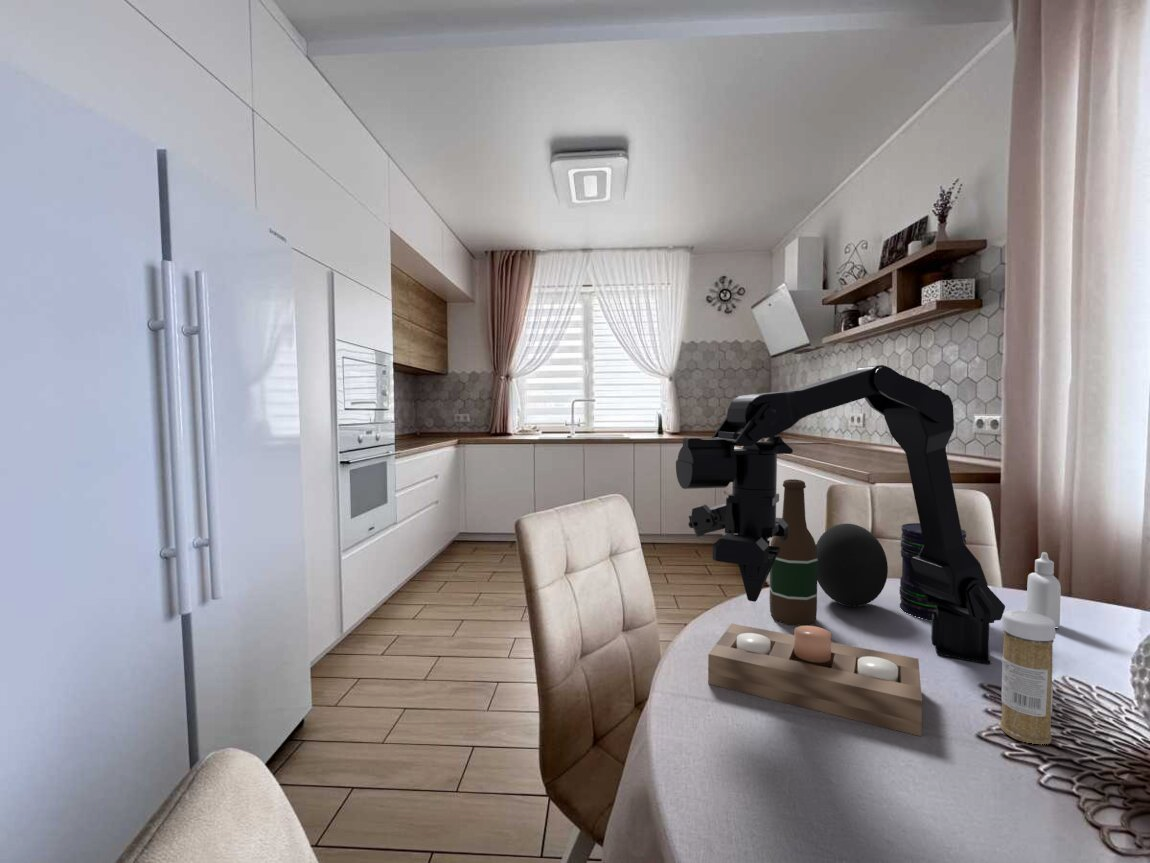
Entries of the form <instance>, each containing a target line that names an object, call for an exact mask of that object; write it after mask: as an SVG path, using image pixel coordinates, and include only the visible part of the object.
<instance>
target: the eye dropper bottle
mask: <svg viewBox="0 0 1150 863" xmlns="http://www.w3.org/2000/svg"><path fill="white" fill-rule="evenodd" d="M1040 555H1041V556H1040V558H1037V559H1035V560H1034V572H1030V573H1029V574H1028V575H1027V585H1026V588H1027V590H1026V611H1027V612H1032V613H1037V614H1040V615H1043V616H1046V617H1048V618H1050V619H1052V620H1053V621H1054V622H1055V627H1059V628H1060V626H1061V625H1060V624H1061V599H1062V598H1061V596H1062V595H1061V593H1062V592H1061V591H1062V590H1061V589H1062V588H1061V582H1060V581H1059V579H1058V578H1057V577H1055V576H1054V573H1055V562H1054V561H1053V560H1051V559H1050V558H1049V555H1048V553H1047V552H1046V551H1043V552H1041V554H1040Z"/></svg>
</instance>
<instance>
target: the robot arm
mask: <svg viewBox="0 0 1150 863" xmlns="http://www.w3.org/2000/svg"><path fill="white" fill-rule="evenodd" d="M863 399H864V400H865V401H866V403H867V404H868V406H869V407H870V408H871V409H873V410H875V411H876V412H877V413H879V414H881V415H882V416H883V418H884V420H885V423H886V425H887V428H888V431H889V433H890V435H891V437H892V438H893V439H894V441H896V443H897V444H898V445H899V447H900V448H901V449H902V450H903V451H904V453H905V457H906V461H907V466H908V471H909V475H910V481H911V485H912V491H913V497H914V501H915V505H916V510H917V511H916V512H917V514H918V521H919V523H920V526H921V531H922V536H923V541H924V546H923V548H922V550H921V552H920V554H919V556H916V557H912V558H911V564H912V566H913V569H914V582H917V583H918V584H919V587H920V588H921V590H922V591H923V592H924V595H925V599H926V602H928V603H932V604H934V605H937V611H936V614H934V613H933V614H932V621H931V628H930V629H931V634H930V635H931V636H930V638H931V645H933V647H935V652H936V654H937V655H940V656H945V657H951V658H955V659H961V660H967V661H972V662H978V663H981V664H982V663H983V664H991V663H992V659H991V656H990V654H989V652H990V648H989V647H990V624H994V623H995V621H1002V615H1003V613H1004V612H1005V608H1006V605H1005V604H1004V602H1002V600H1000V598H999V597H998V596H997V595H996V594H995V593H994V592H993V591H992V589H990V587H989V586H988V580H987V579H986V578H987V577H986V576H985V573H984V570H983V567H982V564H981V562H980V561H979V560H978V559H977V557H976V556H975V555H974V554H973V552H972V551H971V550H970V548H968V546H967V544H966V545H965V543H964V541H963V536H962V531H961V529H962V527H961V526H962V525H961V521H960V517H959V512H958V505H957V501H956V496H955V495H956V494H955V490H954V486H953V480H952V476H951V474H952V473H951V469H950V465H949V458H948V455H947V446H948V444H949V442H950V439H951V437H952V435H953V432H954V431H955V421H954V420H955V418H954V404H953V401H952V399H951V396H950V395H949V394H946V393H945V392H943V391H942V390H939V389H936V388H934V389H933V388H932V387H930V386H928V384H925V383H923V382H921V381H917V380H915V379H912V378H910V377H909V376H905V375H903V374H901V373H899V372H897V371H896V370H894V369H893V368H891V367H889V366H887V365H884V364H881V365H879V364H878V365H868V366H860V367H858V368H857V369H856V370H853V371H850V372H847V373H844V374H840V375H836V376H832V377H829V378H826V379H822V380H819V381H816V382H813V383H809V384H805V385H803V386H800V387H797V388H796V387H795V388H794V389H793V388H792V389H789V390H786V391H775V392H764V393H763V392H761V393H754V394H753V393H752V394H751V393H750V394H744V395H739V396H737V397H735V398H733V399H732V400H731V401H730V404H729V406H728V408H727V413H726V416H725V418H724V420H723V421H722V423H721V424H720V425H719V427H718V428H717V429H716V431H715V432H714V433H713V435H712V436H711V438H698V437H691V436H690V437H687V436H686V437H683V439H682V446H681V448H680V449H679V451H678V455H677V459H676V461H675V473H676V477H677V479H676V480H677V482H678V484H679V486H680V488H682V489H683V490H687V489H688V490H689V489H690V490H691V489H696V490H697V489H725V488H727V487H728V486H729V484H731V483H732V486H731V487H732V489H731V493H729V494H728V496H726V498H725V503H723V504H717V505H713V506H711V507H709V506H708V505H707V504H703V505H702V504H701V505H700V506H695V507H693V508H692V509H691V514H689V515H688V518H689V521H688V523H687V524H688V527H689V528H690V529H693V531H694V533H695V536H696V538H697V537H703V536H705V535H706V534H709V533H713V532H717V531H721V530H724V533H725V534H724V535H723V536H721V537H720V538H719V539H718V540H716V542H714V543H713V544H712V560H713V561H715V562H720V563H728V564H735V565H736V564H737V565H738V568H739V572H740V575H741V579H742V583H743V588H744V590H745V595H746V598H747V600H748V601H749V602H757V601H758V599H759V597H760V594H761V592H762V590H763V588H764V586H765V583H766V581H767V579H768V577H769V576H770V570H771V568H772V566H773V564H774V562H775V559H776V557H777V555H778V553H779V551H780V548H779V547H774V546H771V541H770V540H769V539H770V538H771V539H772V538H773V536H780V539H781V540H783V541H785V540H786V539H787V538H788V524H787V523H786V522H785V521H784V520H783V519H782V517H777V503H779V502H780V493H777V487H778V485H777V482H778V481H777V480H778V478H777V477H778V476H777V474H778V473H777V472H778V470H777V469H778V455H790V454H792V453H793V452H794V451H793V448H792V447H790V445H788V444H787V443H786V442H785V441H784V440H783V439H782V437H781V436H778V435H779V434H781V433H783V432H784V431H785V432H786V431H787V430H788V429H791V428H792V427H794V426H795V425H796V424H797V423H798V422H799V421H800V420H802V419H804V418H807V416H810V415H814V414H817V413H820V412H824V411H827V410H829V409H833V408H837V407H840V406H842V405H843V406H844V405H847V404H849V403H853V402H855V401H856V402H857V401H859V400H863ZM762 439H766V440H764V441H762ZM735 446H736V447H742V448H735Z"/></svg>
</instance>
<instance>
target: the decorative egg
mask: <svg viewBox="0 0 1150 863" xmlns="http://www.w3.org/2000/svg"><path fill="white" fill-rule="evenodd" d="M815 544H816V547H817V557H818V564H817V584H818V585H819V586H820V588H821V589H822V591H823V592H824V593H825V595H826V596H828V597H829V598H830V599H832V600H833V601H835V602H836V603H838V604H840V605H842V606H848V607H861V606H865V605H867V604H870V603H871V602H873V601H874V600H875V599H877V598H878V596H880V594H881V593H882V592H883V590H884V588H885V585H886V583H887V579H888V574H889V566H888V558H887V556H886V552H885V550H884V548H883V545H882V544H881V543H880V541H879V540H878V538H877V537H876V536H875V535H874V534H873V533H872V532H871V531H870V530H868V529H867V528H865V527H863V526H860V525H858V524H853V523H840V524H837V525H833V526H831V527H829V528H828V529H826V530H825V531H824V532H823V533H822V534H821V535H820V536H819V538H818V540H817V542H816V543H815Z"/></svg>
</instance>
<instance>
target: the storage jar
mask: <svg viewBox="0 0 1150 863" xmlns="http://www.w3.org/2000/svg"><path fill="white" fill-rule="evenodd" d="M901 531H902V533H901V536H900V537H901V538H900V557H901V560H902V562H901V563H902V564H901V566H902V568H901V569H902V570H901V577H900V579H899V580H900V581H899V584H900V586H899V599H900V603H899V609H900V608H901V609H902V610H903V611H904V612H903V611H902V610H901V609H900V610H901V611H902V612H903V613H905V612H906V613H905V614H907V613H908V614H907V615H909V614H911V615H913V616H912V617H914V616H916V617H915V618H917V617H920V618H919V619H921V618H923V619H922V620H925V619H927V620H926V621H930V620H932V614H933V613H934V614H936V611H937V605H934V604H932V603H928V602H926V599H925V595H924V592H923V591H922V590H921V588H920V587H919V584H918V583H917V582H914V569H913V566H912V564H911V558H912V557H916V556H919V554H920V552H921V550H922V548H923V546H924V541H923V536H922V531H921V526H920V522H919V523H918V522H917V523H914V522H913V523H905V524H901ZM961 531H962V536H963V541H964V543H965V545H966V546H967V540H966V537H967V531H966V530H965V529H962V528H961ZM911 615H910V616H911Z"/></svg>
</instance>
